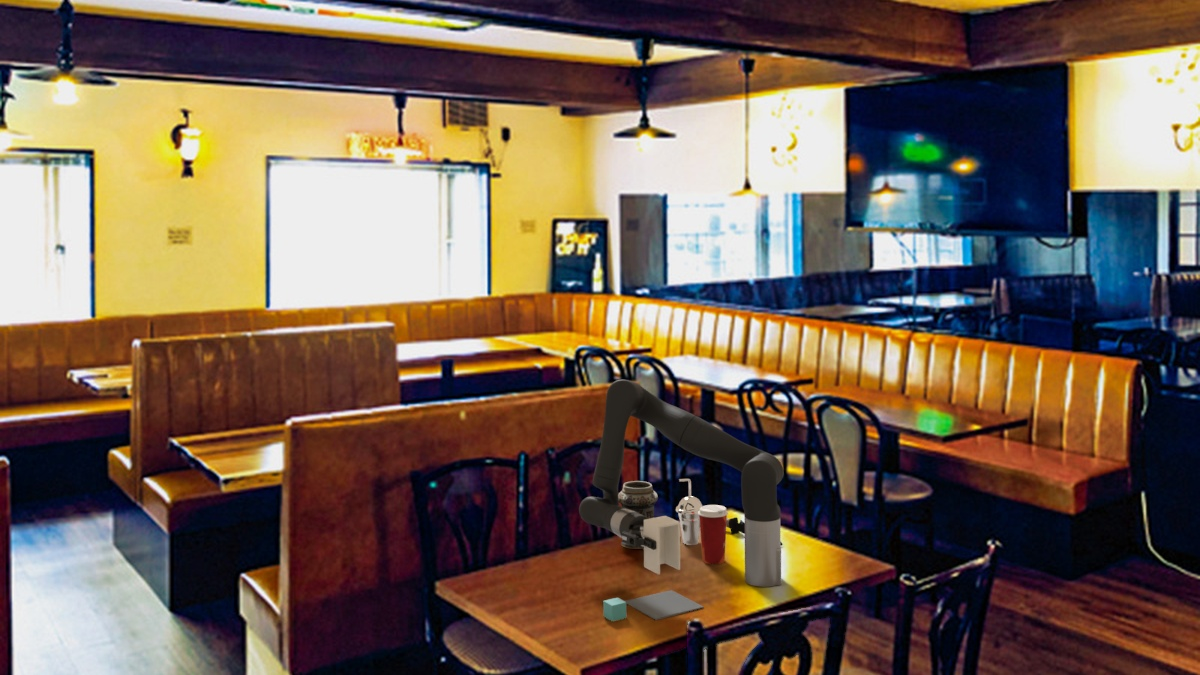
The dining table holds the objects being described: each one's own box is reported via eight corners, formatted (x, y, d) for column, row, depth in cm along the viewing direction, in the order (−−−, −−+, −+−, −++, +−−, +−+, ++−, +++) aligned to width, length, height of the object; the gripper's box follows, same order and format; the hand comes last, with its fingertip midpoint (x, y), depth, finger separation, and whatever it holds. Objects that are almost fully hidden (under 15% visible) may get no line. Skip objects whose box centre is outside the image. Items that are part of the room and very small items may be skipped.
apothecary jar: (664, 548, 311) (663, 487, 309) (624, 552, 308) (623, 491, 306) (650, 536, 323) (649, 477, 321) (612, 540, 319) (611, 481, 317)
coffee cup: (734, 561, 298) (734, 508, 296) (711, 567, 293) (711, 514, 291) (714, 554, 305) (714, 502, 303) (692, 560, 300) (691, 507, 298)
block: (603, 616, 260) (603, 600, 259) (617, 613, 262) (617, 597, 261) (612, 621, 256) (612, 605, 256) (626, 618, 258) (626, 602, 258)
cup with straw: (710, 545, 313) (709, 477, 311) (681, 549, 310) (680, 480, 308) (697, 537, 321) (696, 471, 319) (669, 540, 318) (668, 474, 316)
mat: (671, 591, 276) (671, 590, 276) (703, 608, 264) (703, 606, 264) (624, 602, 269) (624, 600, 269) (655, 620, 257) (655, 618, 257)
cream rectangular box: (644, 567, 266) (643, 519, 265) (665, 562, 269) (665, 515, 268) (658, 574, 261) (658, 526, 259) (680, 569, 264) (680, 522, 262)
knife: (703, 521, 333) (704, 507, 332) (710, 519, 334) (711, 505, 333) (775, 555, 309) (776, 540, 308) (782, 553, 310) (784, 538, 310)
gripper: (606, 516, 272) (642, 533, 258) (654, 507, 280) (691, 523, 265) (607, 545, 273) (642, 563, 259) (654, 535, 281) (691, 553, 266)
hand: (667, 543), depth 262 cm, fingers closed on cream rectangular box, 6 cm apart
